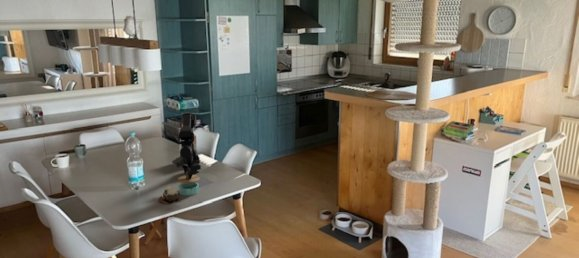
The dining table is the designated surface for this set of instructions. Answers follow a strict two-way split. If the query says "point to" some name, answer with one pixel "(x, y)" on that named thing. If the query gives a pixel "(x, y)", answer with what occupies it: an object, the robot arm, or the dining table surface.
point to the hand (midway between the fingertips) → (188, 178)
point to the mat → (204, 181)
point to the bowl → (189, 189)
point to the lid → (186, 179)
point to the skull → (169, 196)
